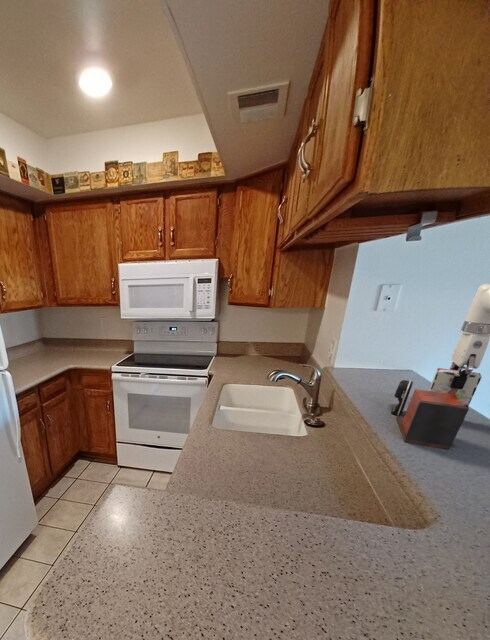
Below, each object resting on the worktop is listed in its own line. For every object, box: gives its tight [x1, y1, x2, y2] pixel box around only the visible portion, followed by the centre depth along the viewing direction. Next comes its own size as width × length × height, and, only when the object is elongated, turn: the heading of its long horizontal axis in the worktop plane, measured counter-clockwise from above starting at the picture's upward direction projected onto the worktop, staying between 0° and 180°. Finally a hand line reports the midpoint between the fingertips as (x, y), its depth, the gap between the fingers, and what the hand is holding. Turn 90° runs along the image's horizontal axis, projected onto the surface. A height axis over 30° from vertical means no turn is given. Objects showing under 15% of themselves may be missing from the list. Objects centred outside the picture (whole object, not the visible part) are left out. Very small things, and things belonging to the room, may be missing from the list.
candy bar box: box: [428, 367, 482, 408], centre depth 109 cm, size 11×5×16 cm, turn 55°
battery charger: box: [390, 379, 414, 416], centre depth 114 cm, size 7×4×11 cm, turn 142°
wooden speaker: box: [395, 388, 470, 451], centre depth 100 cm, size 11×18×13 cm, turn 155°
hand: (453, 384), depth 107 cm, fingers closed on candy bar box, 5 cm apart
